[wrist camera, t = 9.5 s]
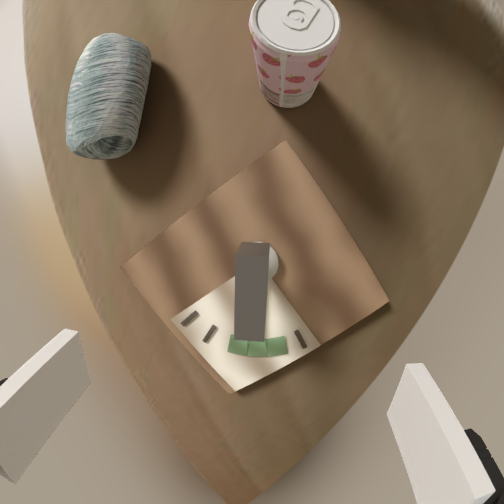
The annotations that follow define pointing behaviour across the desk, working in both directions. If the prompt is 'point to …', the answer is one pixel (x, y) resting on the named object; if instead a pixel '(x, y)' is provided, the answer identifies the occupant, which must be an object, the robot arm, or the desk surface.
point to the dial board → (279, 286)
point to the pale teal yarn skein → (107, 97)
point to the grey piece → (252, 288)
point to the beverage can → (292, 47)
